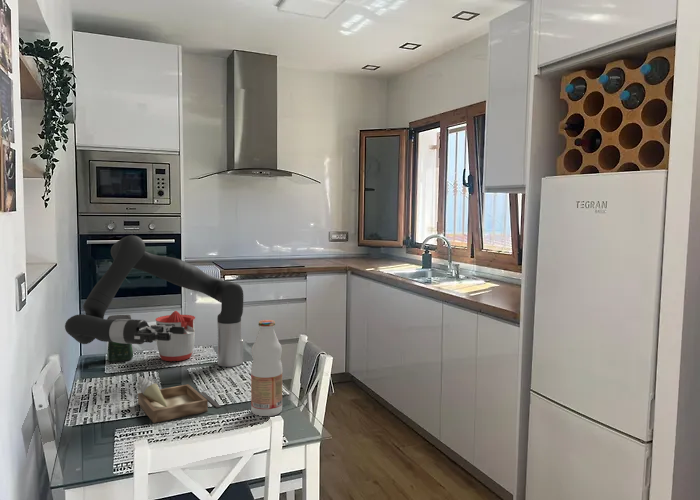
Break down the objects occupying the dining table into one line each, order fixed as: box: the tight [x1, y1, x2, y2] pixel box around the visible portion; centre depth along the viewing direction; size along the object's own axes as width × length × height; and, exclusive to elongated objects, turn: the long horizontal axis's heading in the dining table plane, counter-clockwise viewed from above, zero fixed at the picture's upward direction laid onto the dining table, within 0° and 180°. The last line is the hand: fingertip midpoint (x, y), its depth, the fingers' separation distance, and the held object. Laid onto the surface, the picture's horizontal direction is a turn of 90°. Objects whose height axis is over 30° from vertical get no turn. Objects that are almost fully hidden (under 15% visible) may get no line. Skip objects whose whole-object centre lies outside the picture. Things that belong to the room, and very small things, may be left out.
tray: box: [137, 383, 222, 424], centre depth 163 cm, size 21×18×4 cm
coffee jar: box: [106, 314, 134, 363], centre depth 213 cm, size 10×8×19 cm
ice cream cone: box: [137, 375, 167, 407], centre depth 163 cm, size 5×5×15 cm
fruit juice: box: [250, 319, 283, 417], centre depth 158 cm, size 9×9×28 cm
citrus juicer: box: [155, 310, 196, 362], centre depth 215 cm, size 16×17×20 cm
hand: (177, 333), depth 159 cm, fingers open, 8 cm apart
